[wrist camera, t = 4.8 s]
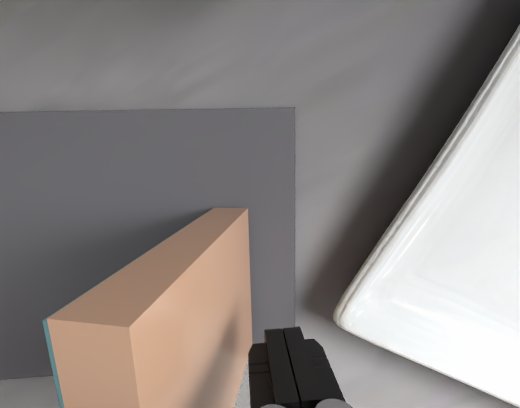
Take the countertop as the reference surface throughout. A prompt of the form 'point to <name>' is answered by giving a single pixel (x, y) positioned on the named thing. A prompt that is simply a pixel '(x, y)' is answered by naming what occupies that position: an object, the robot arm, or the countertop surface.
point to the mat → (134, 206)
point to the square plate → (455, 252)
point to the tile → (162, 324)
